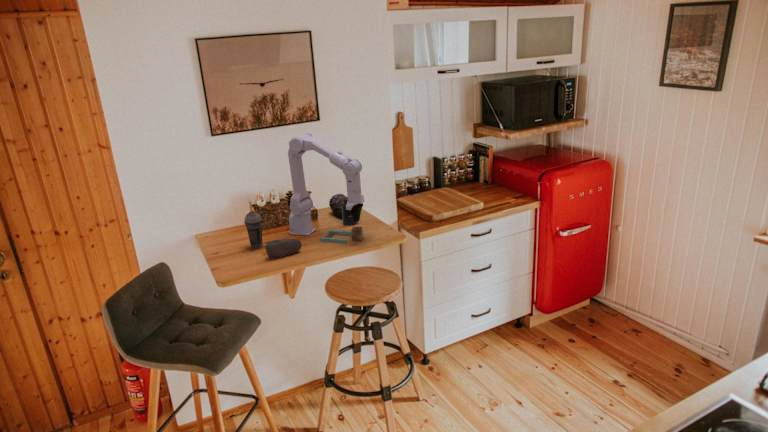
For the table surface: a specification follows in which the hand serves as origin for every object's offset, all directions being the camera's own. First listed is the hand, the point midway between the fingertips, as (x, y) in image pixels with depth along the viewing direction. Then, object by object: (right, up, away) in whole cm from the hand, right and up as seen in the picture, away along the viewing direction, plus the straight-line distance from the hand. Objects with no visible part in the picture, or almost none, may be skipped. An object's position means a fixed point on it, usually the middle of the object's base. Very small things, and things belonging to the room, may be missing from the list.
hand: (356, 221), depth 221 cm
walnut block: (0, -8, +4) cm, 9 cm away
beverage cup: (-42, -11, +2) cm, 43 cm away
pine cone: (-8, +2, +34) cm, 35 cm away
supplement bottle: (-4, -1, +23) cm, 24 cm away
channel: (-8, -7, +6) cm, 13 cm away
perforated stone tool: (-28, -14, -8) cm, 33 cm away
